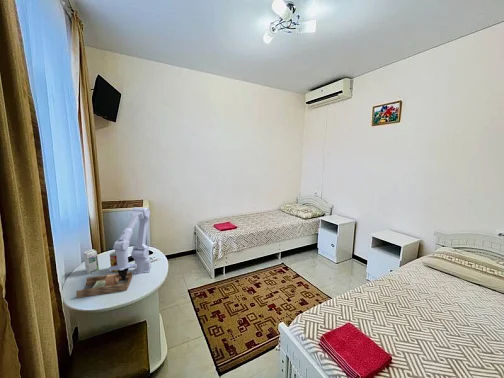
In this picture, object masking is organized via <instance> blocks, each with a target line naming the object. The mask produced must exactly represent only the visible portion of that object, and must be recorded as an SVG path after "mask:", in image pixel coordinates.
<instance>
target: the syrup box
mask: <svg viewBox="0 0 504 378" xmlns="http://www.w3.org/2000/svg"><path fill="white" fill-rule="evenodd" d="M83 261H84V266H85V267H84V269H85V272H86V273H87V274H89V275H91V274H92V273H93V274H94V273H96V272H99V271H100V270H99V269H100V268H99V260H98V252H97V250H96V249H90V250H88V251H84V252H83Z"/></svg>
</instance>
